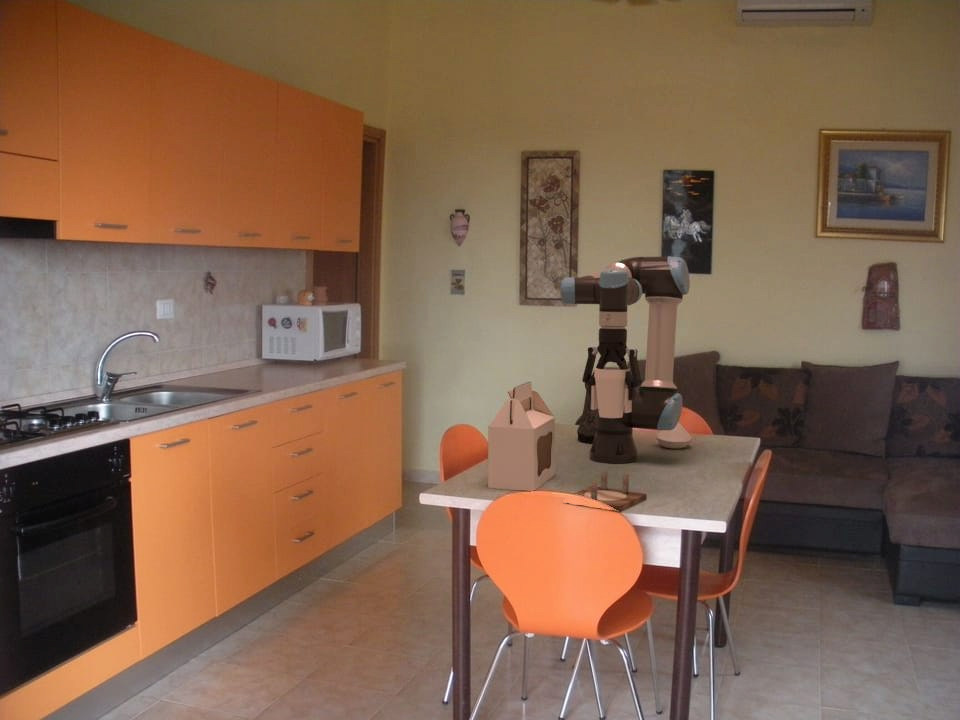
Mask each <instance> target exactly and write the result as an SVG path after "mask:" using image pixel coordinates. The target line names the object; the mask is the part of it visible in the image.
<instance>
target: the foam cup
mask: <svg viewBox="0 0 960 720" xmlns="http://www.w3.org/2000/svg"><path fill="white" fill-rule="evenodd" d="M625 371H631V368H630V367H628V369H627V370H620V368H619V366H618V367H617V366H614V367H613V366H605V367H604V369H597V368H596V367H593V372H594V377H595V382H596V392H597V401H598V410H599V417H603V418H621V417H623V411H624V404H625V388H627V384H626V382H625Z"/></svg>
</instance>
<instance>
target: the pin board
mask: <svg viewBox="0 0 960 720" xmlns="http://www.w3.org/2000/svg"><path fill="white" fill-rule="evenodd" d="M600 475H601V476H600V477H601V479H600V486H598V480H591V481H590V486H589V487H586V488H584V489H580V490H578V491H576V492H574V493H572V494H578V495H582V496H586V497H590V498H592V499H595V500H598V501H601V502H603V503H605V504H607V505H609V506H611V507H613V508H614V509H616V510H618V511H619V512H618V513H621V512H624V511H626V510H627V509H629V508H631V507H634V506H636V505H638V504H640V503H642V502H644V501H647V493H642V492H636V491H630V490H629V487H630V486H629V485H630V484H629V483H630V482H629V481H630V474H629V473H628V474H627V473H623V474H622V489H616V488H608V471H606V470H602V471H601V473H600Z"/></svg>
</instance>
